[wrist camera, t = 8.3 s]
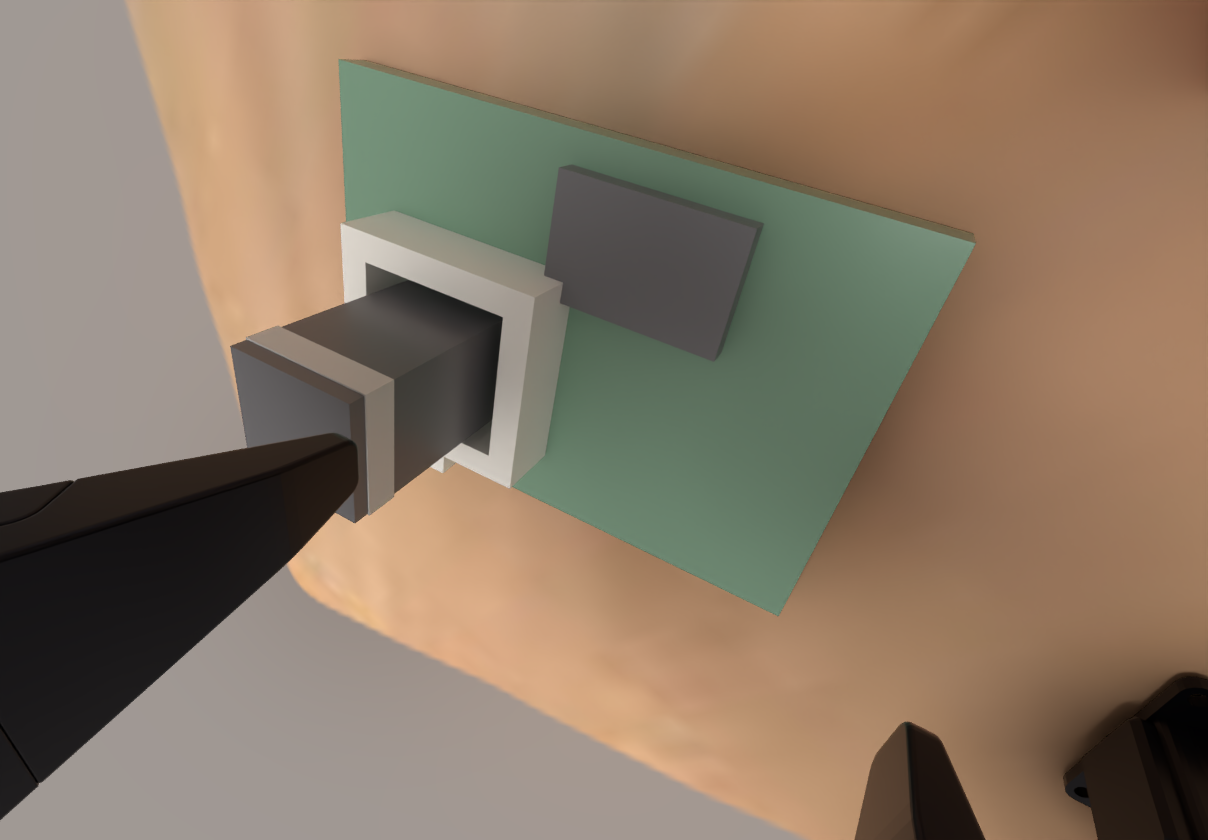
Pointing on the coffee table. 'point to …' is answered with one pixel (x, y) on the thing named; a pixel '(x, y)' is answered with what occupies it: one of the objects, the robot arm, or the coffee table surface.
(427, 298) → the black plug
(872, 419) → the circuit board
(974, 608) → the coffee table surface
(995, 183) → the coffee table surface
